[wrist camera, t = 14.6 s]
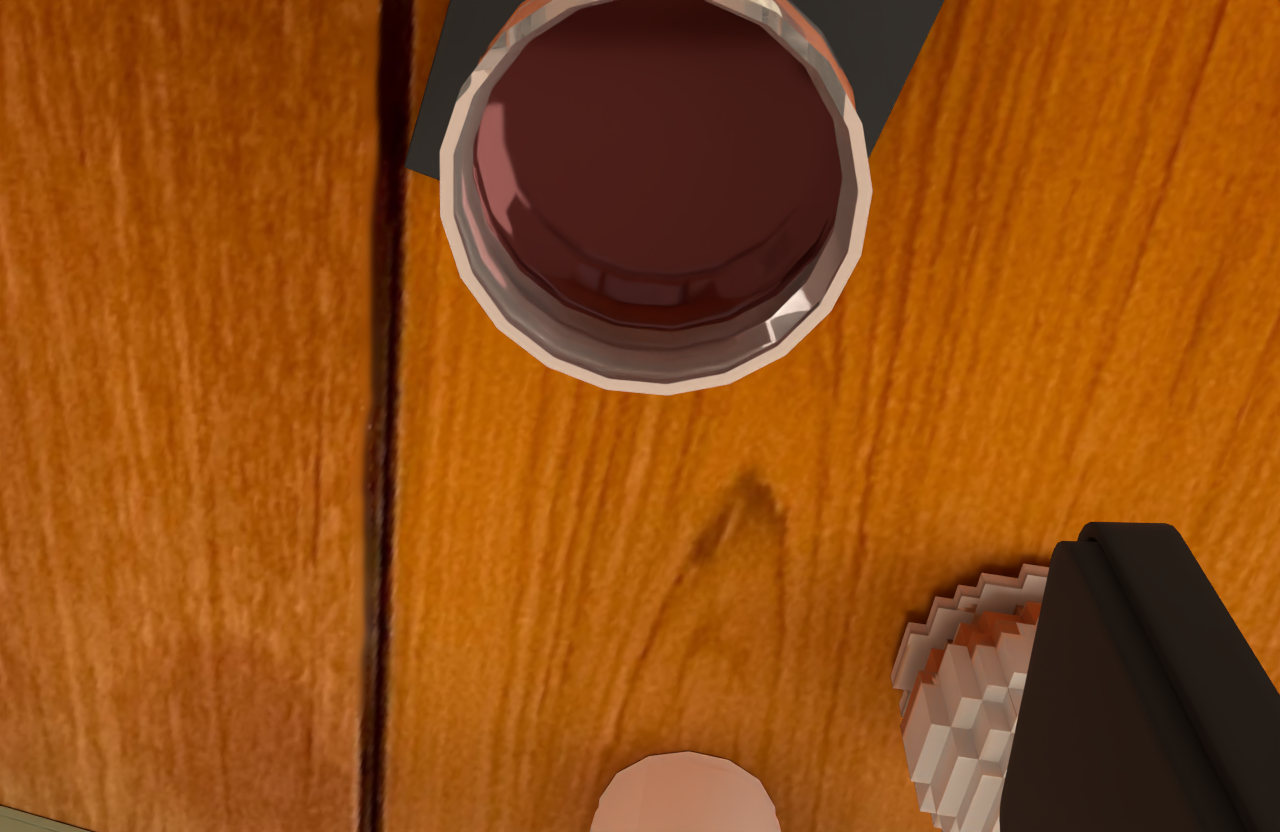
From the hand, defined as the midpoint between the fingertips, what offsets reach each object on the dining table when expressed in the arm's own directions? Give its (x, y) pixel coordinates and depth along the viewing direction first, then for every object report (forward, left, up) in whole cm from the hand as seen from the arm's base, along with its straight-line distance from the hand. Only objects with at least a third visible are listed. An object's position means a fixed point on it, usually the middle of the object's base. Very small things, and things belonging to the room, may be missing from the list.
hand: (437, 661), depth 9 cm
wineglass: (+1, 0, -23) cm, 23 cm away
